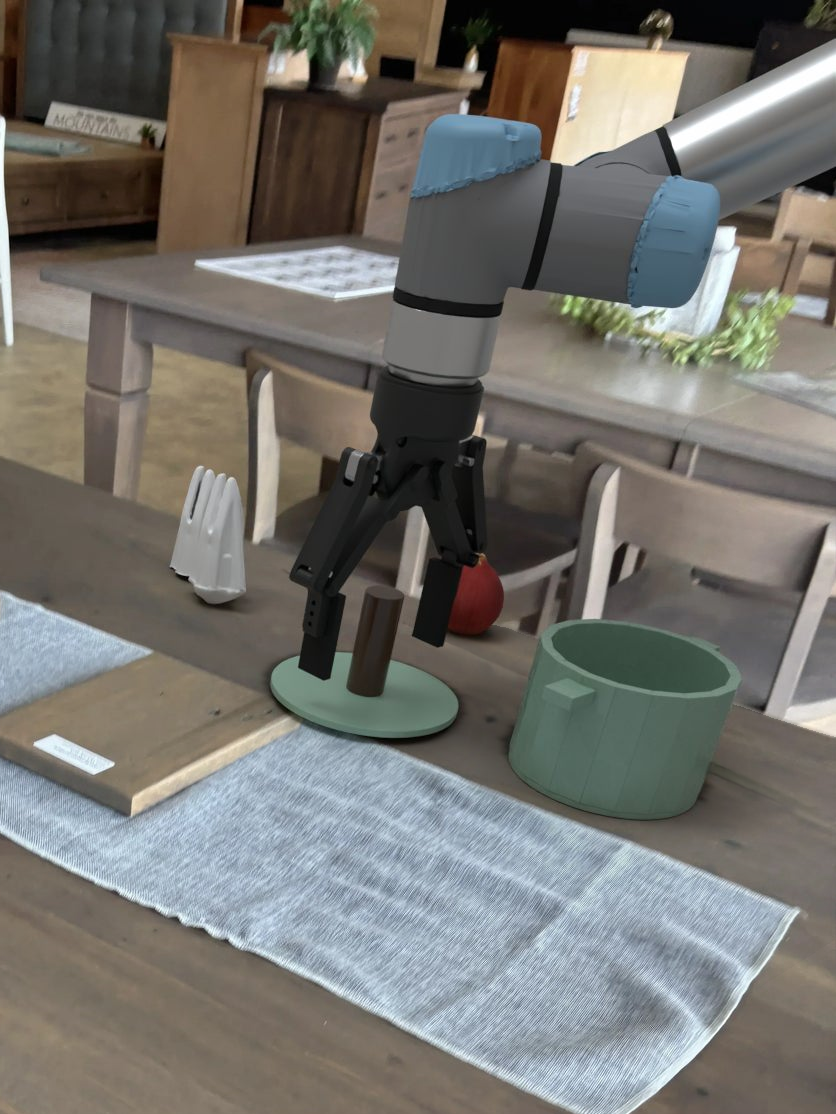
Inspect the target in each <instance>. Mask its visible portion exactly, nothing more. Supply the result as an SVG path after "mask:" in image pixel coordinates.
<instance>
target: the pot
mask: <svg viewBox="0 0 836 1114" xmlns="http://www.w3.org/2000/svg"><path fill="white" fill-rule="evenodd" d="M720 650H721V646H719V645H717V644H715V643H712V642H709V641H707V640H705V639H702V638H700V637H697V636H694V635H693V636H685V635H681V634H678V633H676V632H673V631H669V630H667V629H663V628H659V627H655V626H650V625H647V624H646V625H645V624H640V623H636V622H630V621H624V620H614V619H603V618H584V619H581V618H580V619H569V620H568V619H567V620H565V621H561V622H557V623H555V624H551V625H548V626H547V628H546V629H545V630H544V631H543V632H542V633H541V634H540V635H539V639H538V643H537V645H536V650H535V653H534V656H533V659H532V664H531V667H530V671H529V675H528V678H527V682H526V685H525V688H524V692H523V695H522V699H521V702H520V703H521V704H520V706H519V710H518V713H517V716H516V721H515V725H514V728H513V732H512V735H511V739H510V742H509V746H508V747H509V748H508V749H509V751H508V762H509V766H510V767H511V769H512V771H513V772H514V773H515V774H516V775H517V776H518V777H519V778H520V779H521V781H523V782H524V783H525V784H527V786H529V787H531V788H533V789H534V790H535V791H537V792H539V793H540V794H542V795H544V796H546V797H547V798H550V799H552V800H554V801H556V802H559V803H562V804H564V805H566V806H569V807H571V808H574V809H578V810H581V811H584V812H588V813H592V814H595V815H601V816H606V817H611V818H618V819H624V820H625V819H626V820H638V821H639V820H643V821H645V820H647V821H649V820H650V821H651V820H661V819H668V818H673V817H676V816H679V815H682V814H684V813H686V812H688V811H689V810H690V809H692V807H694V805H695V803H696V802H697V800H698V796H699V794H700V792H701V790H702V788H703V785H704V782H705V780H706V777H707V775H708V772H709V769H710V767H711V764H712V761H713V758H714V755H715V753H716V751H717V747H718V745H719V742H720V740H721V737H722V734H723V731H724V729H725V726H726V723H727V720H728V718H729V715H730V714H731V710H732V708H733V705H734V703H735V700H736V697H737V694H738V691H739V688H740V686H741V683H742V682H743V681H742V680H743V676H742V675H741V673H740V670H739V669H738V667H737V664H735V663H734V662H733V661H731V660H730V659H729V658H727V656H725V655H723V654H722V653H721V652H720Z"/></svg>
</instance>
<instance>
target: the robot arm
mask: <svg viewBox="0 0 836 1114" xmlns="http://www.w3.org/2000/svg"><path fill="white" fill-rule="evenodd" d="M542 140H543V138H542V131H541V129H540V128H539V127H538V126H537V124H536V125H535V124H533V123H529V122H524V121H518V120H511V119H510V120H509V119H504V118H498V117H493V116H484V115H473V114H461V113H447V114H443V115H441V116H438V117H437V118H436V119H435V120H434V121H433V122H432V123H431V124H429V125H428V126H427V129H426V130H425V132H424V136H423V141H422V144H421V149H420V154H419V158H418V162H417V166H416V171H415V175H414V179H413V184H412V188H411V191H410V196H409V202H408V208H407V213H406V218H405V224H404V229H403V235H402V241H401V247H400V252H399V258H398V263H397V264H398V265H397V270H396V276H395V282H394V287H393V292H392V302H391V305H390V312H389V315H388V316H389V317H388V321H387V326H386V331H385V336H384V342H383V345H382V351H381V359H382V360H383V361H384V362H385V363H386V364H387V365H385V366H383V367H382V368H381V369H380V370H379V371H377V373H376V378H375V385H374V390H373V394H372V395H373V396H372V401H371V405H370V411H369V418H370V419H369V420H370V421H371V423H372V425H374V427H375V429H376V432H377V434H376V435H377V436H376V439H375V443H374V444H373V447H372V449H371V451H362V450H359V449H356V448H353V447H351V446H346V447H345V448H344V449H343V450H342V452H341V455H340V458H339V463H338V466H337V470H336V474H335V478H334V481H333V482H332V485H331V487H330V489H329V491H328V493H327V495H326V497H325V499H324V502H323V503H322V505H321V508H320V509H319V511H318V514H317V516H316V518H315V520H314V522H313V523H312V526H311V528H310V530H309V532H308V534H307V536H306V539H305V540H304V543H303V545H302V547H301V549H300V551H299V552H298V555H297V557H296V559H295V561H294V563H293V565H292V567H291V569H290V571H289V580H290V581H291V582H293V583H294V584H297V585H299V586H301V587H303V588H305V589H306V590H307V595H306V603H305V607H304V613H303V620H302V623H301V626H302V632H303V635H302V636H303V637H302V643H301V647H300V653H299V656H300V658H299V664H298V668H299V669H301V670H303V671H305V672H307V673H309V674H311V675H313V676H315V677H317V678H319V679H321V680H323V681H325V680H328V679H330V678H331V673H332V668H333V662H334V657H335V652H337V647H338V642H339V635H340V631H341V626H342V620H343V615H344V610H345V605H346V600H347V595H346V594H343V593H341V589H342V588H343V587H344V585H345V583H346V582H347V581H348V579H349V578H350V576H351V575H352V573H353V572H354V570H355V569H356V568H357V566H358V564H359V563H360V562H361V560H362V558H363V557H364V556H365V554H366V553H367V552H368V549H369V548H370V547H371V545H372V544H373V542H374V541H375V540H376V539H377V536H378V535H379V534H380V532H381V531H382V529H383V528H384V527H385V525H386V524H387V523H388V522H391V521H393V520H395V519H396V518H397V517H398V516H399V514H400V513H401V512H405V511H409V510H411V509H412V508H414V507H419V508H421V510H422V513H423V515H424V518H425V522H426V524H427V526H428V530H429V532H430V535H431V537H432V538H431V539H432V541H433V544H434V546H435V548H436V551H437V555H438V556H440V558H439V557H436V556H433V557H430V558H428V562H427V567H426V571H425V576H424V580H423V583H422V584H423V585H422V588H421V594H420V598H419V602H418V607H417V611H416V616H415V620H414V625H413V628H412V633H411V637H412V638H415V639H416V640H419V641H421V642H423V643H425V644H428V645H430V646H432V647H434V648H437V649H438V648H439V649H440V648H443V647H444V645H445V641H446V636H447V632H448V630H449V629H448V624H449V620H450V616H451V612H452V608H453V604H454V600H455V598H456V596H457V592H458V587H459V583H460V579H461V575H462V571H463V567H464V566H467V567H469V568H474V567H475V566H476V565H477V564H478V562H479V555H478V554H476V553H479V554H484V552H485V551H486V550H487V548H488V543H489V542H488V526H487V512H486V511H487V509H486V497H485V496H486V495H485V480H484V463H485V462H484V461H485V457H486V451H487V444H488V443H487V442H488V441H487V439H486V438H484V437H482V436H478V435H475V434H474V432H475V430H476V426H477V422H478V417H479V413H480V410H481V409H480V408H481V405H482V400H483V395H484V391H485V387H484V386H483V382H482V381H481V380H480V379H479V378H481V377H485V376H486V375H487V374H488V373H489V372H490V369H491V364H492V359H493V355H494V350H495V346H496V340H497V335H498V333H499V327H500V323H501V317H502V312H503V308H504V304H505V301H504V300H505V297H506V294H507V292H508V289H509V288H516V289H520V290H523V291H540V292H546V293H553V294H558V295H565V296H573V297H578V298H579V297H580V298H584V299H591V300H592V299H593V300H598V301H604V302H610V303H611V302H612V303H618V304H625V305H630V308H634V309H639V308H642V307H652V308H664V309H679V308H681V307H683V306H685V305H686V304H687V303H689V302H690V301H691V299H692V298H693V297H694V295H695V293H696V292H697V291H698V288H699V287H700V284H701V282H702V279H703V277H704V274H705V272H706V270H707V269H706V268H707V266H708V264H709V259H710V258H711V253H712V250H713V247H714V243H715V239H716V235H717V231H718V225H719V221H720V220H723V219H725V218H727V217H729V216H731V215H733V214H735V213H738V212H740V211H742V210H744V209H746V208H749V207H751V206H753V205H755V204H757V203H760V202H761V201H764V200H766V199H768V198H770V197H773V196H774V195H777V194H779V193H781V192H783V191H785V190H787V189H791V188H793V187H795V186H796V185H798V184H801V183H802V182H805V181H807V180H809V179H811V178H814V177H816V176H819V175H820V174H822V173H824V172H827V171H829V170H831V169H833V168H835V167H836V38H833V39H831V40H829V41H828V42H825V43H823V44H822V45H819V46H818V47H815V48H813V49H812V50H810V51H808V52H805V53H803V54H802V55H800V56H797V57H796V58H793V59H791V60H789V61H787V62H785V63H783V64H782V65H780V66H777V67H775V68H774V69H771V70H769V71H767V72H766V73H764V74H762V75H759V76H758V77H755V78H753V79H752V80H749V81H748V82H745V83H743V84H742V85H739V86H738V87H735V88H734V89H732V90H730V91H728V92H725V93H724V94H722V95H719V96H717V97H716V98H713V99H712V100H710V101H707V102H706V103H704V104H701V105H700V106H698V107H695V108H694V109H692V110H689V111H687V112H685V113H684V114H682V115H680V116H678V117H676V118H673V119H672V120H670V121H668V122H665V123H663V124H662V126H660V127H658V128H656V129H653V130H651V131H648V132H646V133H644V134H642V135H640V136H638V137H636V138H634V139H632V140H631V141H629V142H626V143H624V144H622V145H620V146H618V147H616V148H614V149H612V150H606V151H598V152H595V153H592V154H591V155H589V156H587V157H585V158H583V159H581V160H580V161H578V162H577V163H575V164H573V165H568V164H562V163H561V162H551V160H547V159H543V158H541V157H542V150H541V146H542V145H541V144H542ZM375 493H376V496H377V497H374V495H375ZM469 530H470V531H469ZM330 575H331V576H330Z"/></svg>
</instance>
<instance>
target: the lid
mask: <svg viewBox="0 0 836 1114" xmlns="http://www.w3.org/2000/svg"><path fill="white" fill-rule="evenodd" d="M404 601H405V594H404V592H403V591H401V590H400V589H397V588H394V587H392V586H386V585H370V586H368V587H366V588H365V590H364V595H363V602H362V604H361V609H360V613H359V614H360V615H359V620H358V625H357V630H356V634H355V638H354V639H355V640H354V645H353V650H352V652H342V651H341V652H340V651H336V652H335V657H334V662H333V668H332V673H331V678H330V679H328V680H325V681H323V680H321V679H319V678H317V677H315V676H313V675H311V674H309V673H307V672H305V671H303V670H301V669H299V668H298V664H299V658H300V655H296V656H292V657H290V658H288V659H285V660H284V661H282V662H279V664H277V665H276V667H275V668H274V669H273V671H272V673H271V676H270V681H269V682H270V683H269V684H270V690H271V692H272V694H273V696H274V697H275V698H276V700H277V701H278V702H279V703H280V704H281V705H283V706H284V707H285V708H286V709H288V710H289V711H291V712H292V713H294V714H296V715H298V716H299V717H301V718H303V719H305V720H308V721H310V722H312V723H315V724H317V725H320V726H323V727H325V728H329V729H333V730H336V731H340V732H343V733H349V734H354V735H359V736H364V737H365V736H367V737H373V738H374V737H375V738H387V739H404V738H415V737H416V738H418V737H423V736H427V735H432V734H435V733H438V732H440V731H443V730H444V729H446V728H448V727H450V726H451V725H452V723H453V722H454V721H456V718H457V715H458V713H459V712H458V711H459V706H460V705H459V700H458V698H457V695H456V694H455V693H454V691H453V690H452V689H450V687H448V685H446V683H444V682H443V681H441V680H440V679H439V678H437V677H435V676H433V675H431V674H430V673H428V672H425V671H424V670H421V669H419V668H418V667H417V668H416V667H415V666H411V665H409V664H406V663H403V662H400V661H396V660H393V659H392V656H393V650H394V646H395V641H396V637H397V632H398V628H399V623H400V618H401V614H402V609H403V605H404Z"/></svg>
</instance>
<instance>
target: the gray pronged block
mask: <svg viewBox="0 0 836 1114" xmlns="http://www.w3.org/2000/svg"><path fill="white" fill-rule="evenodd" d="M244 534H245V517H244V509H243V503H242V498H241V493H240V487H239V485H238V483H237V479H235V477H233V476H229V478H228V479H227V474H226V473H224V472H223V473H222V472H221V473H219V474H217V476H216V475H215V472H214V471H213V470H212V469H207V470H206V471H205V466H203V465H199V466H196V468H195V470H194V472H193V474H192V477H191V479H190V482H189V487H188V490H187V494H186V497H185V501H184V505H183V507H182V511H181V516H180V521H179V526H178V530H177V535H176V539H175V543H174V547H173V551H172V556H171V561H170V565H169V568H173V569H174V570H175V571H174V572H175V573H177V574H178V575H181V576H185V577H188V579H187V580H188V582H189V583H191V584H192V586H193V590H194V591H195V594H196V595H197V596H199V597H200V598H201V599H203V600H204V601H205V602H206V603H207V604H210V605H211V604H212V605H217V604H223V603H226V602H227V603H228V602H230V601H232V600H235V599H237V598H239V597H242V596H243V595H245V594H246V593H247V587H246V571H245V570H246V569H245V568H246V567H245V557H244Z"/></svg>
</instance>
